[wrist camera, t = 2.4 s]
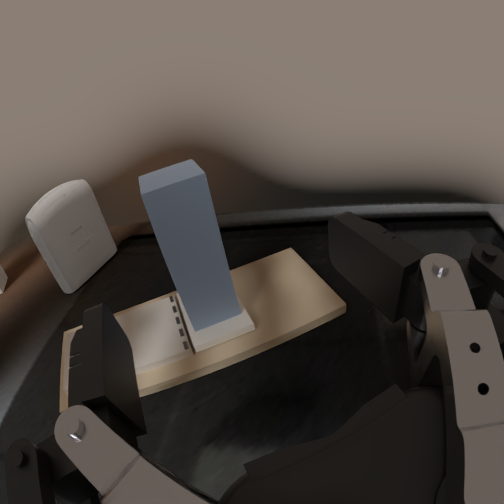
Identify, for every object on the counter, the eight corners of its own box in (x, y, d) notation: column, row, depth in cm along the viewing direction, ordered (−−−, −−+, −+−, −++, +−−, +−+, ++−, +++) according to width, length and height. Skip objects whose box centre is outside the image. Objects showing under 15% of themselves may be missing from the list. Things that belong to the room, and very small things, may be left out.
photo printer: (72, 298, 32) (26, 212, 25) (57, 290, 34) (15, 211, 27) (123, 250, 40) (91, 170, 33) (105, 247, 42) (74, 172, 34)
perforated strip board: (66, 417, 19) (53, 406, 18) (68, 338, 27) (59, 326, 26) (345, 312, 25) (346, 296, 24) (291, 255, 33) (290, 240, 32)
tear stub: (196, 352, 22) (133, 206, 15) (178, 299, 28) (131, 173, 21) (255, 329, 24) (220, 177, 16) (227, 280, 29) (194, 153, 22)
